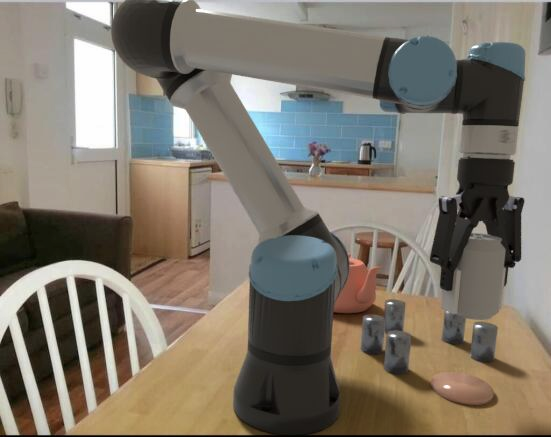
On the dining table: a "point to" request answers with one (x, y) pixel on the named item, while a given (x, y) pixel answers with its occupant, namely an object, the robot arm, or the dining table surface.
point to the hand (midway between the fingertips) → (471, 308)
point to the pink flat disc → (462, 388)
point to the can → (481, 277)
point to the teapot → (357, 288)
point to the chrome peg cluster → (401, 341)
